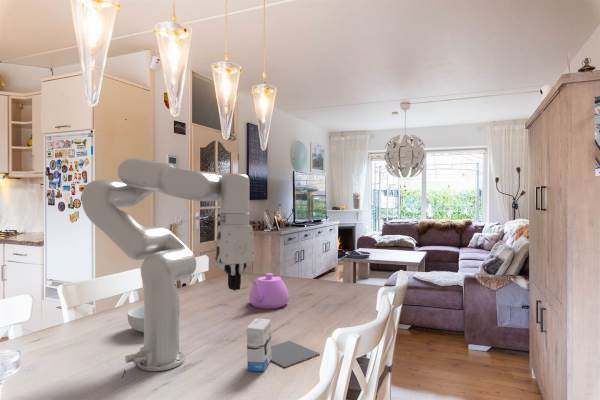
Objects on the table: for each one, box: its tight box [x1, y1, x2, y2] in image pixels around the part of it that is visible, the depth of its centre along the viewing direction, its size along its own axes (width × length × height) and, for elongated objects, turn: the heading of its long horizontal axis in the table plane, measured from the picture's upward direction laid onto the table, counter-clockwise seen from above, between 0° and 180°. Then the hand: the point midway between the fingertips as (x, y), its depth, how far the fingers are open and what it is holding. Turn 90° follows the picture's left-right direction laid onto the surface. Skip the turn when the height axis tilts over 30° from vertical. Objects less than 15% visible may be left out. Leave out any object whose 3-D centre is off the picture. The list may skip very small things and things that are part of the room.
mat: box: [270, 340, 321, 368], centre depth 117 cm, size 14×14×1 cm
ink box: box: [246, 317, 272, 372], centre depth 109 cm, size 8×5×12 cm, turn 168°
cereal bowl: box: [127, 305, 144, 334], centre depth 137 cm, size 17×17×7 cm
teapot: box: [248, 272, 290, 310], centre depth 172 cm, size 25×18×14 cm
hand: (234, 288), depth 103 cm, fingers closed
